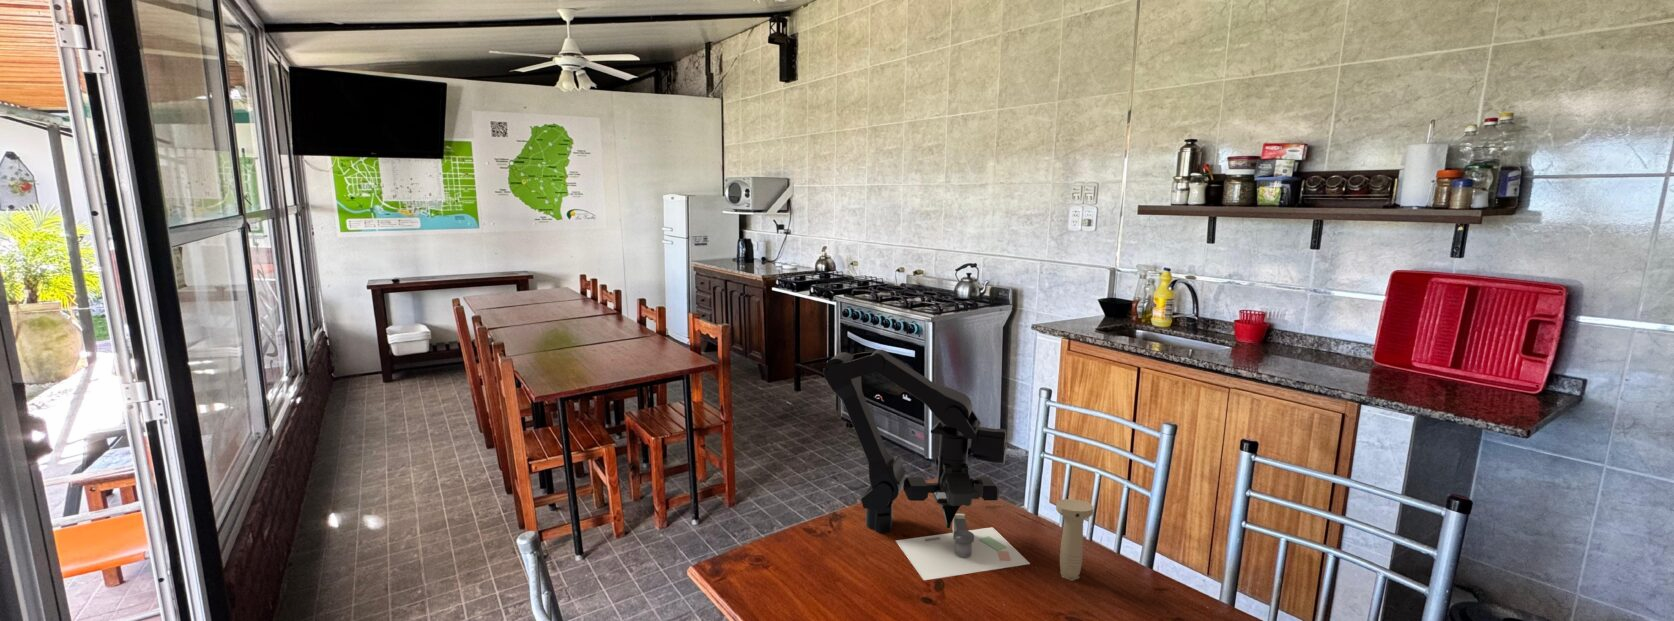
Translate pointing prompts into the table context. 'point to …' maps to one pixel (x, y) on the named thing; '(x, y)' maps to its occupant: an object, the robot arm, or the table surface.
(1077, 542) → the handle
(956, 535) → the grey round-headed bar
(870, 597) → the table surface
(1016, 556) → the board
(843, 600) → the table surface
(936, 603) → the table surface
